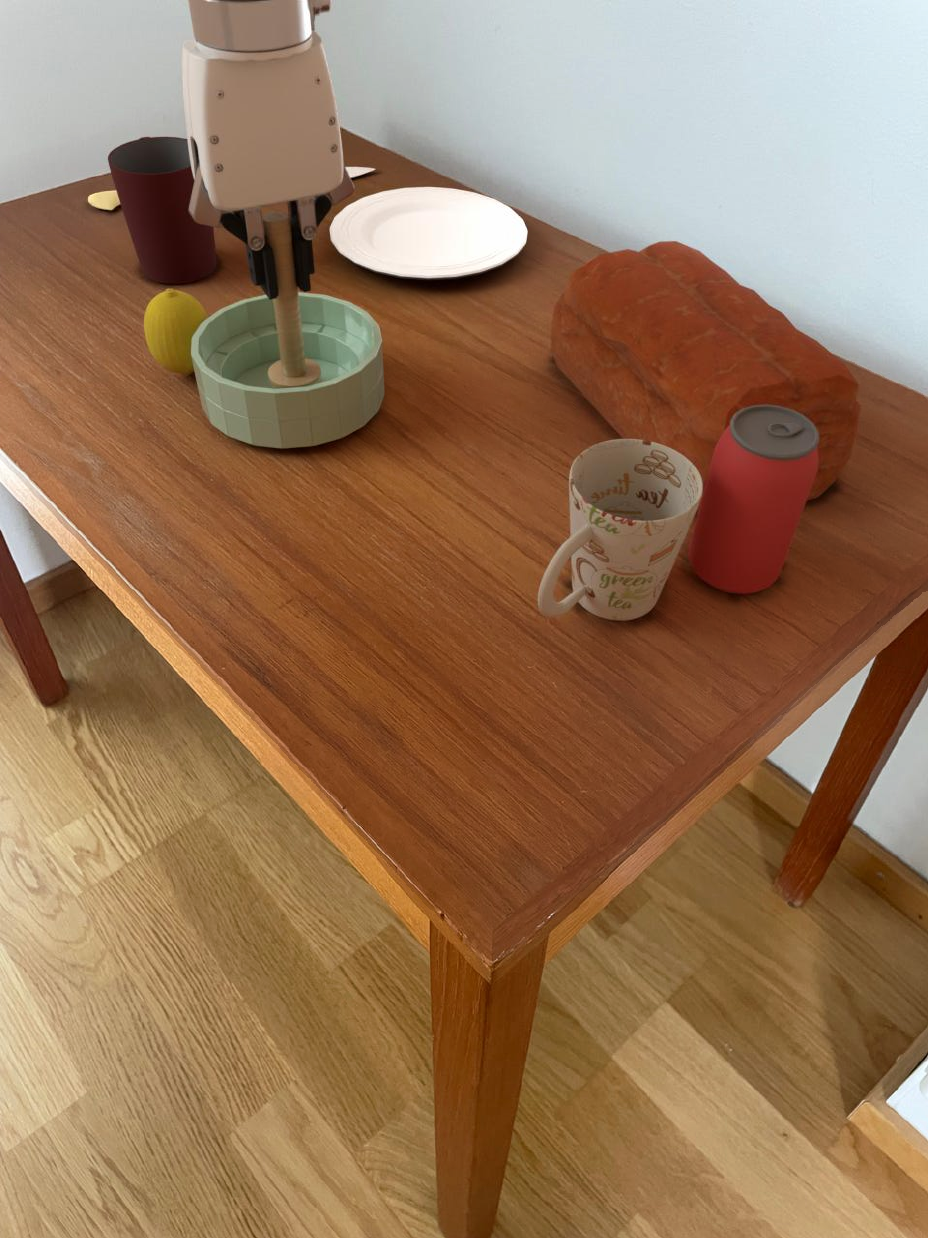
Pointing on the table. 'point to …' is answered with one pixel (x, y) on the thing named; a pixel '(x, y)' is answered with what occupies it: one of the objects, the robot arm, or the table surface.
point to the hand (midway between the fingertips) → (283, 285)
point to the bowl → (248, 345)
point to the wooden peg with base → (287, 310)
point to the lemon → (173, 329)
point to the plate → (428, 233)
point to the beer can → (754, 498)
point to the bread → (694, 356)
